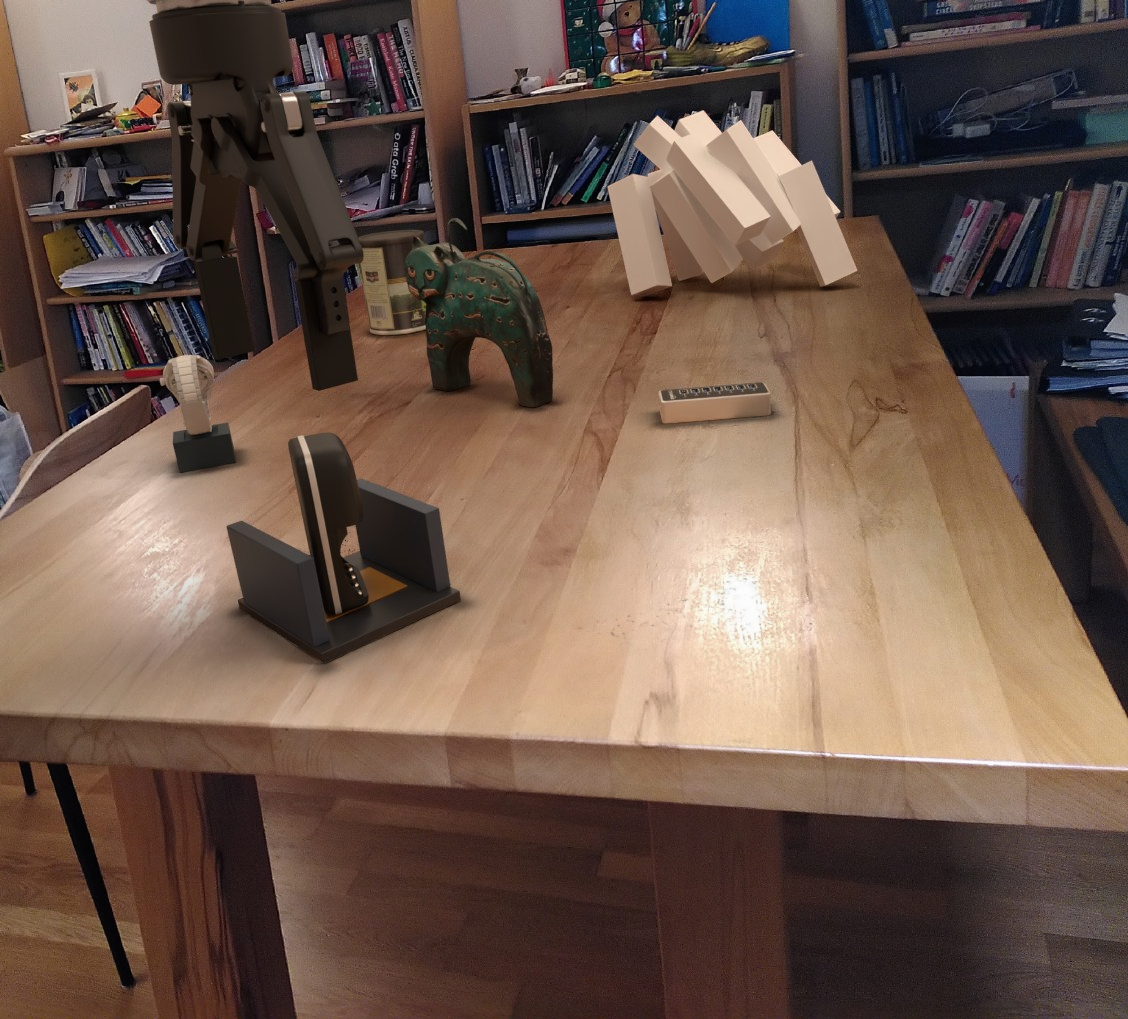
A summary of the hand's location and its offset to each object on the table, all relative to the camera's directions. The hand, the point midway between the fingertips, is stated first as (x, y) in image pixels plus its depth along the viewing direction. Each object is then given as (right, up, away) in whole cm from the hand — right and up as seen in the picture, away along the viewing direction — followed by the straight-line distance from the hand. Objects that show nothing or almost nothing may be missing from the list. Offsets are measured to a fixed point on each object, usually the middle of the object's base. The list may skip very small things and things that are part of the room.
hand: (281, 369), depth 68 cm
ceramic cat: (+10, +4, +54) cm, 55 cm away
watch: (-18, -4, +40) cm, 44 cm away
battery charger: (+3, -15, +6) cm, 17 cm away
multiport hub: (+34, +1, +40) cm, 52 cm away
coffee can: (-7, +19, +94) cm, 96 cm away
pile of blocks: (+45, +27, +100) cm, 113 cm away
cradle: (+3, -16, +6) cm, 17 cm away
